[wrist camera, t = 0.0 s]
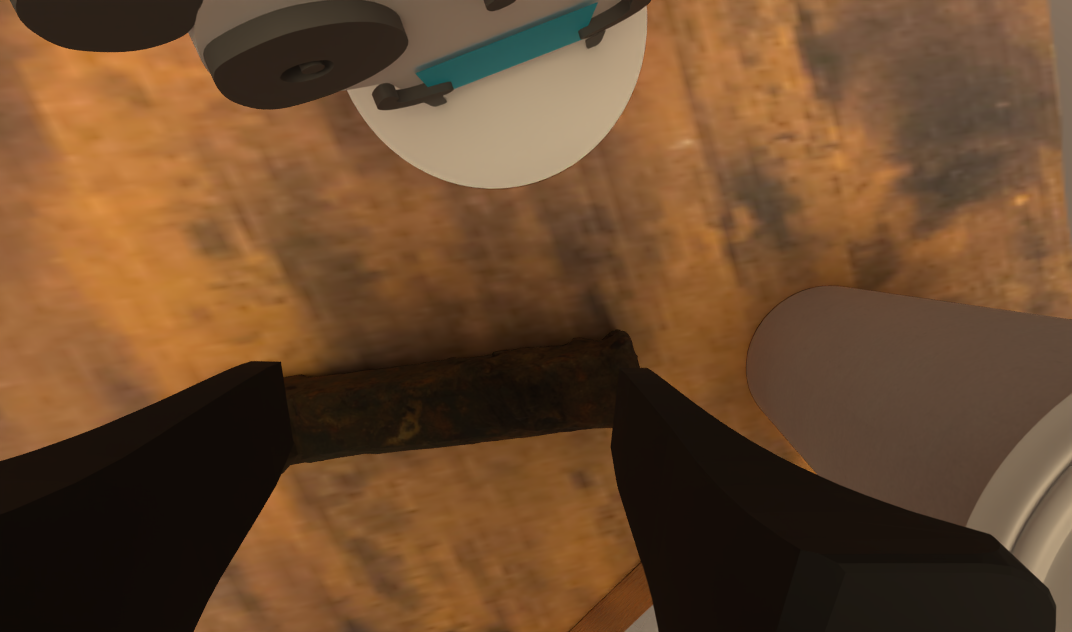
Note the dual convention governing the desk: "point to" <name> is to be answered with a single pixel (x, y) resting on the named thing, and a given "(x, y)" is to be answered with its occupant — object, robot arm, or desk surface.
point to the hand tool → (458, 400)
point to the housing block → (623, 608)
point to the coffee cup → (931, 412)
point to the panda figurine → (403, 68)
